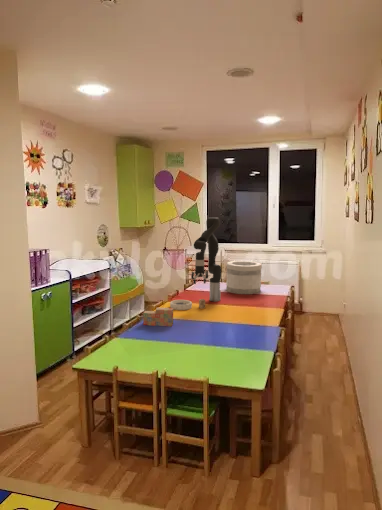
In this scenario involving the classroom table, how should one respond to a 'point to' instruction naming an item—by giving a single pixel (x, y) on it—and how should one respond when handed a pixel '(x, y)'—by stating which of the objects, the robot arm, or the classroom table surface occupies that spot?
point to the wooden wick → (201, 303)
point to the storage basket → (243, 277)
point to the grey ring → (181, 304)
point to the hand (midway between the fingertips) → (199, 283)
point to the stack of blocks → (158, 317)
